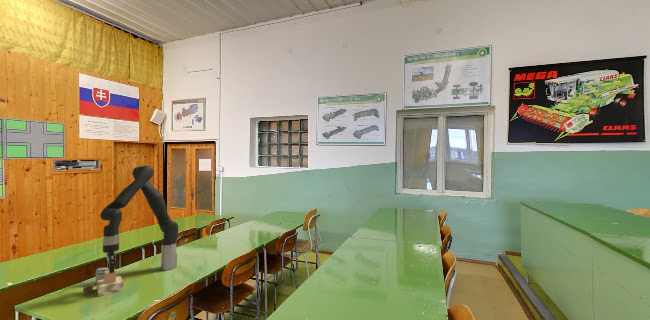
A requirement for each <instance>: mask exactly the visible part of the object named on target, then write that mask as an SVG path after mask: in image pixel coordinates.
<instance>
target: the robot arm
mask: <svg viewBox="0 0 650 320" xmlns="http://www.w3.org/2000/svg"><path fill="white" fill-rule="evenodd" d="M131 173H132V176H133V177H132V178H133V179H134V180H133V181H132V182H131V183H129V185H127V186H126V187H124V189H123V190H121V191H120V193H119V194H118V195H116V197H115V199H114V200H112V202H110V203H109V204H108V205H107V206H105V207H104V208H103V209H102V211H101V212H100V214H99V215H100V219H101V220H103V221H108V224H106V225H105V226H103V237H102V253H105V254H106V262H107V267H108V269H109V273H114V269H115V266H116V256H117V254H116V252H117V251H119V250H120V234H119V233H120V225H121V223H122V222H121V221H122V218H123V213H122V211H121V209H123V208H126V207H127V206H128V205H129V203H130V202H131V201H132V199H133V198H134V196H135V195H136V194H137V193H138V192H139V190H141V191H142V194H143V195H144V197H145V199H146V201H147V203H148V206H149V207H150V209H151V211H152V213H153V214H154V216H155V218H156V220H157V223H158V226H159V229H160V231H161V232H162V233H163V239H162V240H161V242H160V243H161V246H160V247H161V249H160V250H161V252H160V253H161V254H160V256H161V257H160V270H161V271H169V270H174V269H175V268H177V267H178V253H177V242H178V238H179V224H178V223H177V222H176V221H174V220H172V219H171V217H170V216H169V213H168V211H167V204H166V201H165V199H164V197H163V195H162V193H161V192H160V191H159V190H158V189H157V188H156V187H155V186H153V184H152V183H151V181H150V180H151V179H152V178H153V176H154V174H155V171H154V168H153V167H152V166H151V165H141V166H136V167H134V168H133V169H132V172H131Z"/></svg>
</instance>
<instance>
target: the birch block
mask: <svg viewBox="0 0 650 320" xmlns="http://www.w3.org/2000/svg"><path fill="white" fill-rule="evenodd" d="M122 291H124V281H123V279H122V275H116V282H112V283H108V284H105V283H104V279H103V280H99V281H97V284H96V292H97V297H98V298H99V297H103V296H107V295H111V294H114V293H118V292H122Z"/></svg>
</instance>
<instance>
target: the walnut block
mask: <svg viewBox="0 0 650 320" xmlns="http://www.w3.org/2000/svg"><path fill="white" fill-rule="evenodd" d="M93 289H94V285H93V283H88V284H83V286H82V293H83V294H82V295H83V296H86V295H90V294H93V292H94V290H93Z"/></svg>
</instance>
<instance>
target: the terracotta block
mask: <svg viewBox="0 0 650 320" xmlns="http://www.w3.org/2000/svg"><path fill="white" fill-rule="evenodd" d="M116 277H117V270H116V268H114V273H109V270H106V271H104V283H105V284H108V283H112V282H116Z"/></svg>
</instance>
